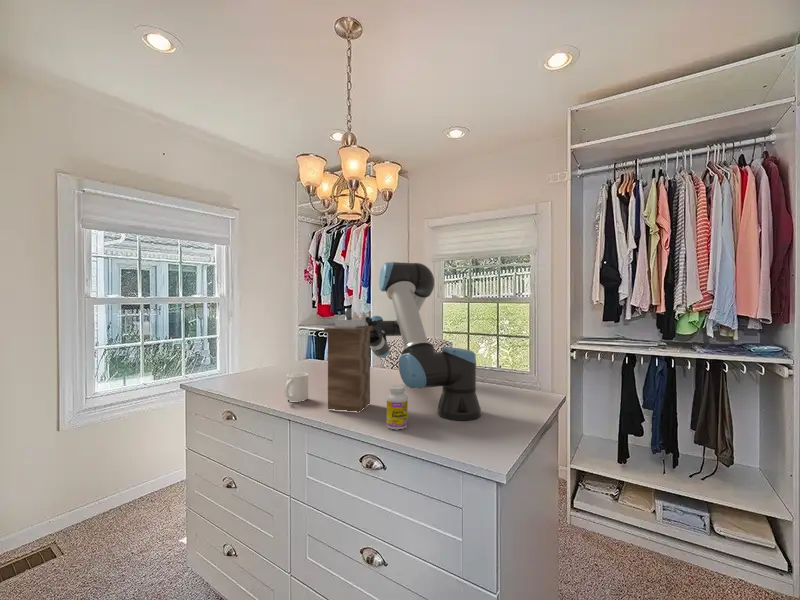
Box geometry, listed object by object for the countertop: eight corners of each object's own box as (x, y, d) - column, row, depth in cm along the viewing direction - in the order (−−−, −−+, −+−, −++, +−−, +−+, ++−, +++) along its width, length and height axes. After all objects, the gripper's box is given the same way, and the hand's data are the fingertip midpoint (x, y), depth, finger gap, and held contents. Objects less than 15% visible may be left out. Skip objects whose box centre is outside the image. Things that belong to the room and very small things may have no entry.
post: (339, 401, 153) (339, 325, 153) (373, 403, 150) (373, 326, 149) (324, 411, 140) (324, 328, 139) (360, 414, 136) (360, 329, 136)
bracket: (354, 324, 161) (354, 307, 161) (373, 324, 159) (373, 307, 159) (335, 327, 142) (335, 308, 141) (355, 328, 140) (355, 308, 139)
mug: (294, 406, 146) (294, 379, 146) (276, 404, 149) (276, 377, 149) (312, 398, 157) (312, 373, 157) (295, 396, 160) (295, 371, 160)
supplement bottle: (389, 431, 119) (389, 390, 119) (384, 424, 125) (384, 385, 125) (410, 429, 121) (410, 388, 121) (404, 422, 127) (404, 383, 127)
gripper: (390, 347, 169) (376, 323, 150) (355, 345, 173) (337, 322, 154) (392, 331, 173) (379, 306, 153) (358, 330, 177) (341, 306, 157)
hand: (358, 314), depth 153 cm, fingers closed on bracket, 3 cm apart
